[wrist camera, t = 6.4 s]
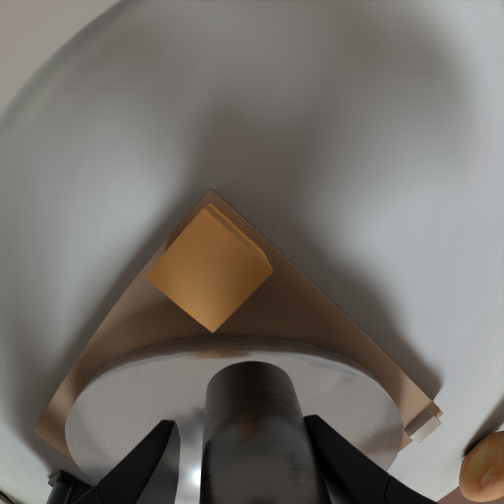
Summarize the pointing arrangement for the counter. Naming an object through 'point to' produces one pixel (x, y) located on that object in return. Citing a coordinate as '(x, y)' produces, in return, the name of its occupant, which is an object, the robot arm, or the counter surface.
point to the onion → (484, 470)
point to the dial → (234, 415)
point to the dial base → (252, 317)
